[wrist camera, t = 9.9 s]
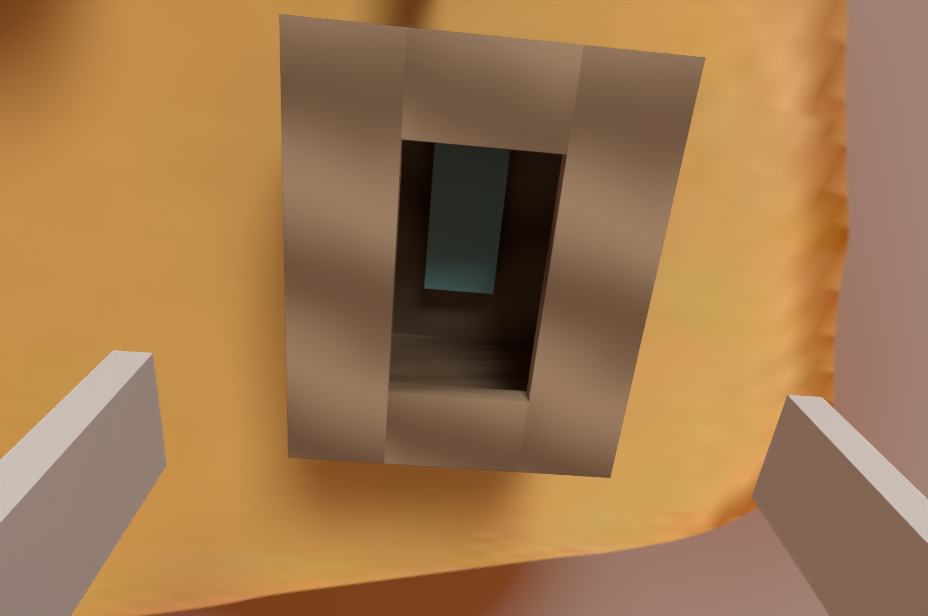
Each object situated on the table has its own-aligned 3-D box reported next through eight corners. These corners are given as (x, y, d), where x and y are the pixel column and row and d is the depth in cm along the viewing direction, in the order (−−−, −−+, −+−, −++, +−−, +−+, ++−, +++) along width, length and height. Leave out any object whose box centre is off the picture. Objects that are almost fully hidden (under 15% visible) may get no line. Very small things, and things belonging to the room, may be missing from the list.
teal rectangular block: (436, 135, 30) (434, 143, 28) (505, 141, 30) (510, 150, 28) (425, 271, 33) (424, 288, 31) (490, 277, 33) (492, 294, 31)
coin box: (339, 23, 29) (279, 14, 19) (617, 52, 29) (705, 57, 19) (335, 336, 35) (288, 457, 25) (564, 353, 36) (610, 477, 26)
